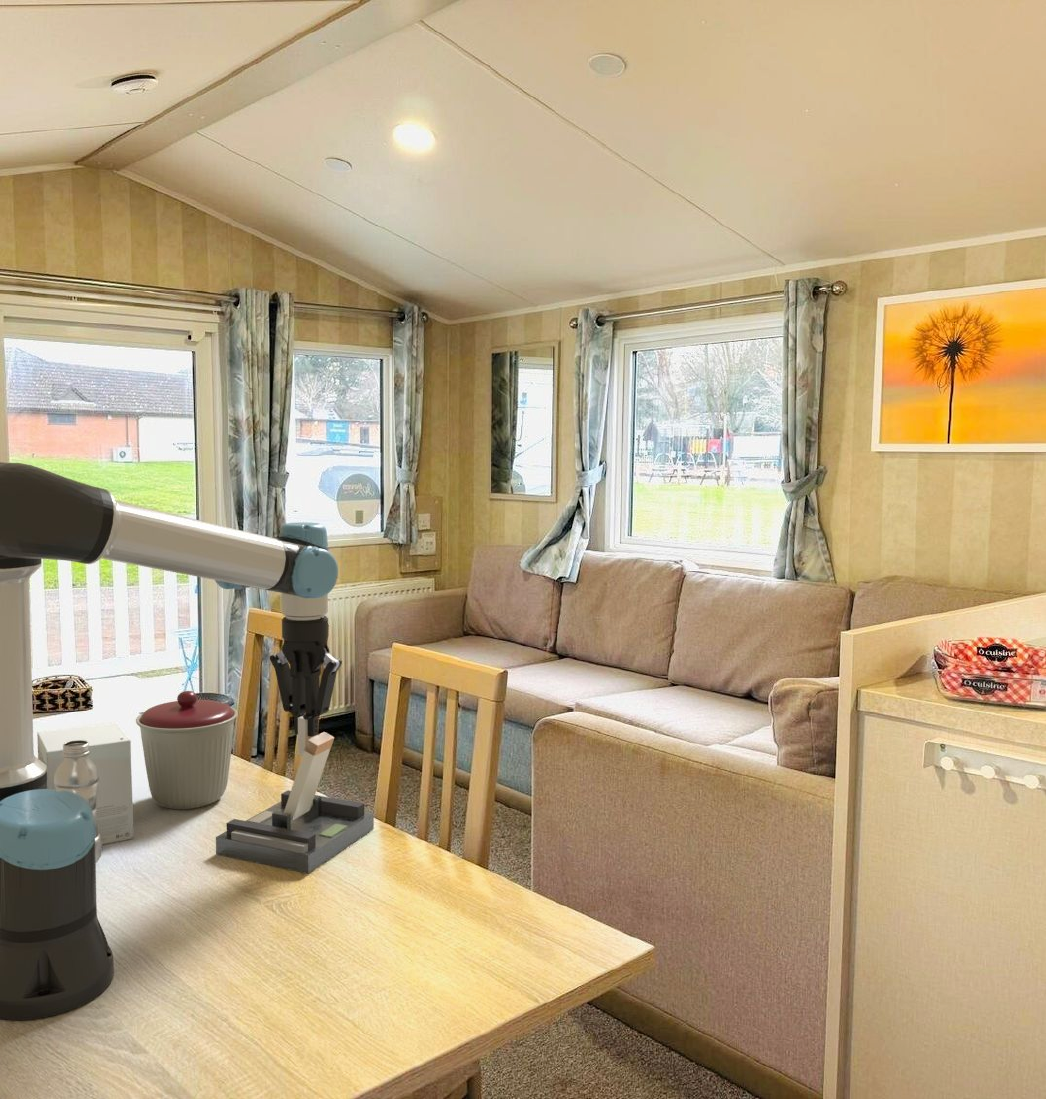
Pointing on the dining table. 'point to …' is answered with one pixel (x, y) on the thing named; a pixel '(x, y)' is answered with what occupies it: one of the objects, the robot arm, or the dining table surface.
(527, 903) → the dining table surface
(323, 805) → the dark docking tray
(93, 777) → the plastic bottle
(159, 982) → the dining table surface
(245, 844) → the panel
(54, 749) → the supplement box
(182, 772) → the canister
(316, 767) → the lever
